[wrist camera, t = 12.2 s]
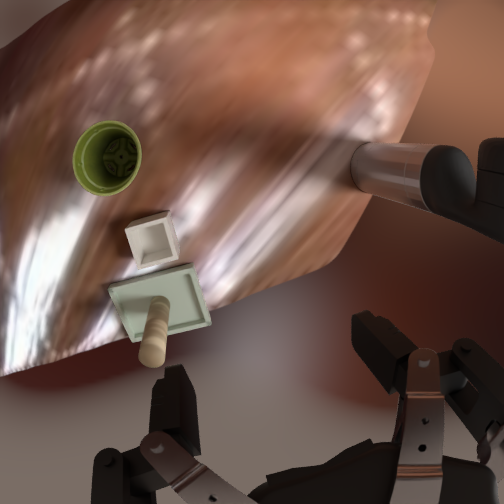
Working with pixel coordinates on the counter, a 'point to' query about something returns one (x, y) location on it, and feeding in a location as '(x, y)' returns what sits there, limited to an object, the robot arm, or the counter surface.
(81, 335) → the counter surface
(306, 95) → the counter surface
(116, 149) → the plant pot
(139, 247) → the white open box
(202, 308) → the tray
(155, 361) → the dowel
